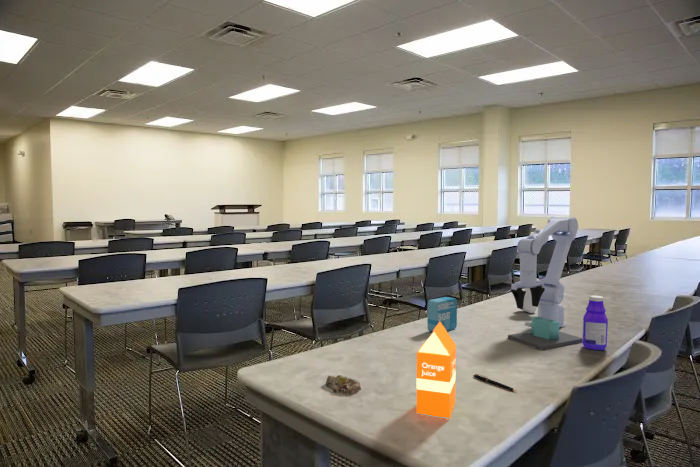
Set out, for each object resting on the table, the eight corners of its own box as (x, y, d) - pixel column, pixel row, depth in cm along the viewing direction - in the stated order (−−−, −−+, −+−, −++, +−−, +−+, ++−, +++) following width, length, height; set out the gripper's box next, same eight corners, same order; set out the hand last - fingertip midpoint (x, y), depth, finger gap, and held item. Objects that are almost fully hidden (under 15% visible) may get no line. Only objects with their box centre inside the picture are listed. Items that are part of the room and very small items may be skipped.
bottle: (605, 346, 157) (606, 295, 156) (608, 352, 151) (610, 298, 150) (581, 344, 159) (582, 294, 158) (583, 349, 154) (584, 297, 153)
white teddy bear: (530, 309, 212) (531, 276, 211) (548, 314, 202) (549, 280, 201) (512, 310, 209) (513, 277, 208) (529, 316, 198) (530, 281, 198)
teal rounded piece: (529, 331, 172) (529, 314, 172) (561, 338, 162) (561, 321, 162) (522, 332, 170) (523, 316, 169) (554, 341, 160) (555, 323, 159)
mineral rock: (369, 379, 124) (351, 379, 118) (367, 396, 123) (348, 397, 117) (338, 371, 131) (319, 371, 125) (336, 387, 130) (316, 388, 124)
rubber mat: (547, 331, 176) (548, 328, 176) (583, 341, 162) (583, 338, 162) (507, 338, 167) (507, 335, 167) (541, 350, 154) (541, 346, 154)
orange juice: (415, 414, 108) (416, 328, 107) (424, 399, 116) (424, 319, 115) (450, 419, 105) (451, 332, 104) (456, 404, 113) (456, 322, 112)
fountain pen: (519, 393, 120) (520, 387, 120) (517, 394, 119) (517, 389, 119) (474, 377, 131) (474, 371, 131) (471, 378, 131) (471, 372, 130)
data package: (436, 334, 173) (436, 302, 172) (427, 331, 177) (427, 300, 176) (457, 328, 181) (457, 297, 180) (447, 326, 184) (447, 296, 183)
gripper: (534, 268, 180) (533, 303, 181) (505, 270, 174) (504, 307, 175) (549, 270, 174) (548, 306, 175) (519, 273, 167) (519, 311, 168)
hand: (527, 307), depth 174 cm, fingers open, 7 cm apart
